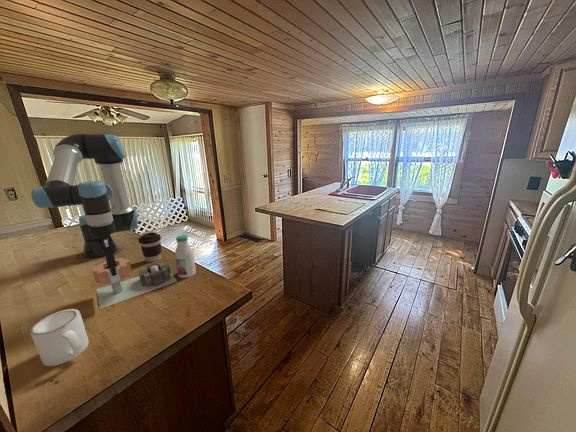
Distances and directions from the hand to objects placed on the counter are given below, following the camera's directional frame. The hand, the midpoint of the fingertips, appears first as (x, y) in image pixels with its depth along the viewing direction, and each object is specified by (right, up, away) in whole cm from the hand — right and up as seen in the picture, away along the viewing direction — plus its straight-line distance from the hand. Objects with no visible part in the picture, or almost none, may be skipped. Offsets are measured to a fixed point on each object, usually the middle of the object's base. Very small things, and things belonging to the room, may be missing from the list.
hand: (113, 275), depth 91 cm
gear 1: (0, 0, 0) cm, 0 cm away
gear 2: (+10, -5, +11) cm, 16 cm away
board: (+5, -7, +7) cm, 11 cm away
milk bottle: (+22, -5, +16) cm, 28 cm away
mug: (+4, -17, -23) cm, 29 cm away
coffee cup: (-2, 0, +31) cm, 31 cm away
